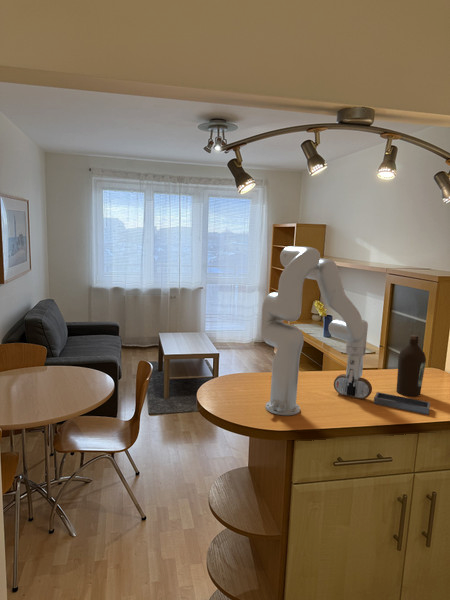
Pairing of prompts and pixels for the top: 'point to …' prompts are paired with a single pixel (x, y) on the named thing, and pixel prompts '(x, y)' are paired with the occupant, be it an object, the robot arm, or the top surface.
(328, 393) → the top surface
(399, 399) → the tray
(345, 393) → the tin
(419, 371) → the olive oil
